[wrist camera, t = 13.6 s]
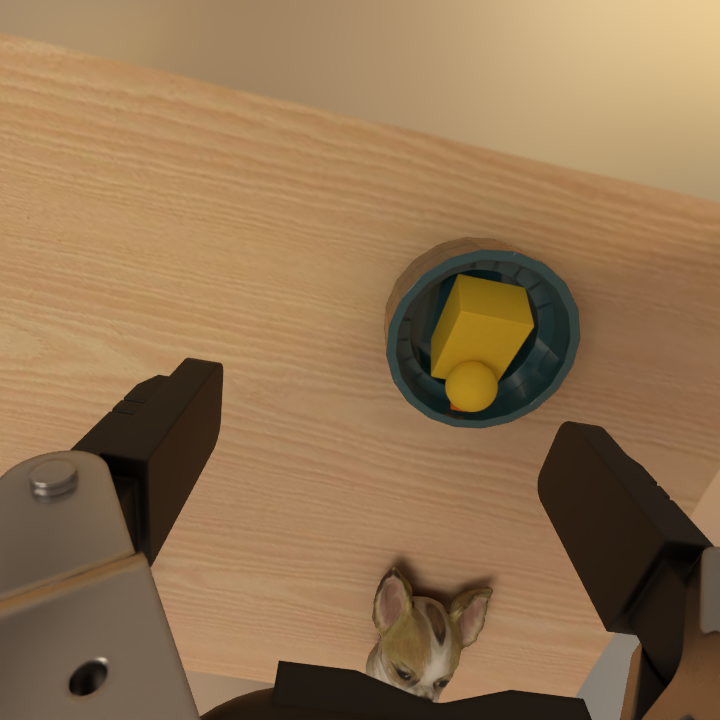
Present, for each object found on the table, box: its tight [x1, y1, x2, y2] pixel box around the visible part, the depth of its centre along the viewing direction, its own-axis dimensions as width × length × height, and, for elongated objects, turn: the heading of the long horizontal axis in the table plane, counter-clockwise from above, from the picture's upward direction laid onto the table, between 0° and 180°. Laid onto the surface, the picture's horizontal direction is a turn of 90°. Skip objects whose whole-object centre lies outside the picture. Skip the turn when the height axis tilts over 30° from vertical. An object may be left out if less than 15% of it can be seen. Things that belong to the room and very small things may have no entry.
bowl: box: [384, 237, 580, 428], centre depth 29 cm, size 12×12×6 cm
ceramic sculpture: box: [366, 566, 493, 703], centre depth 40 cm, size 11×9×15 cm
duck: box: [431, 274, 534, 412], centre depth 28 cm, size 7×4×7 cm, turn 169°
